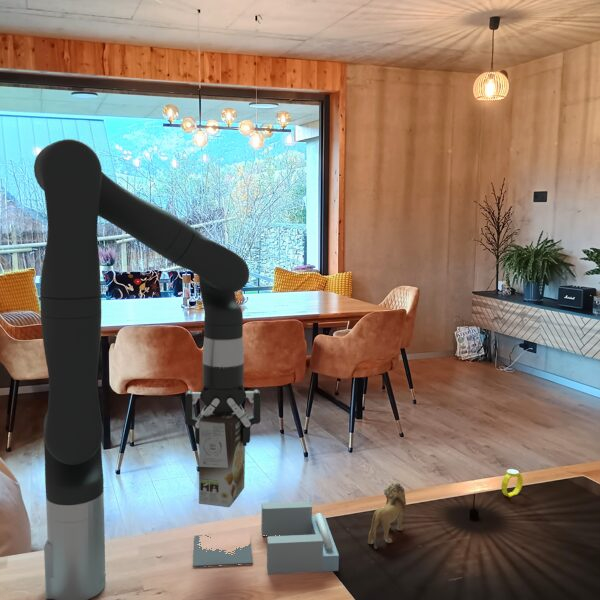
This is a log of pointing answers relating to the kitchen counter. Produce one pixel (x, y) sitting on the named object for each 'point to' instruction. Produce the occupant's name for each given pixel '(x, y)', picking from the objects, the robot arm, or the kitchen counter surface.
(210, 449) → the coffee box
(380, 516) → the lion figurine
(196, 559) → the mat
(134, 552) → the kitchen counter surface
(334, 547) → the vise
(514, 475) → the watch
